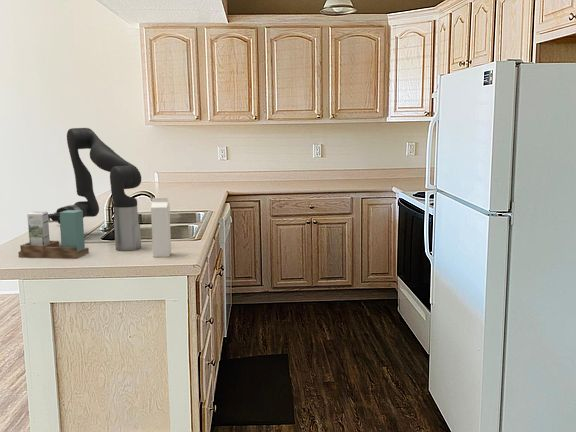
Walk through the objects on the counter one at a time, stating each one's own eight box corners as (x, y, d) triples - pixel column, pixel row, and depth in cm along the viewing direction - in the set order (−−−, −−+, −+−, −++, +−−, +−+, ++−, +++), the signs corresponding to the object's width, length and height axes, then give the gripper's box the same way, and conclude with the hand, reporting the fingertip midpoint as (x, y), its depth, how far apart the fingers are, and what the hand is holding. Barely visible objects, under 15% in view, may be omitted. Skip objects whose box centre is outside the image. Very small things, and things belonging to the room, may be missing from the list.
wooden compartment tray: (88, 252, 224) (88, 241, 223) (76, 258, 214) (75, 246, 213) (33, 251, 227) (32, 240, 226) (18, 257, 217) (17, 245, 216)
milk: (155, 253, 222) (153, 197, 219) (171, 253, 222) (169, 196, 219) (152, 257, 216) (150, 198, 213) (169, 256, 216) (166, 198, 213)
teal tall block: (84, 248, 222) (82, 210, 219) (77, 252, 216) (74, 212, 214) (68, 248, 223) (66, 210, 220) (60, 251, 217) (58, 212, 214)
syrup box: (50, 247, 224) (48, 210, 222) (44, 251, 218) (41, 213, 216) (36, 247, 224) (33, 211, 222) (29, 251, 218) (26, 213, 216)
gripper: (52, 205, 242) (30, 211, 227) (84, 206, 241) (65, 211, 225) (53, 223, 244) (32, 230, 228) (85, 223, 242) (66, 230, 226)
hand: (48, 221), depth 226 cm, fingers open, 8 cm apart
